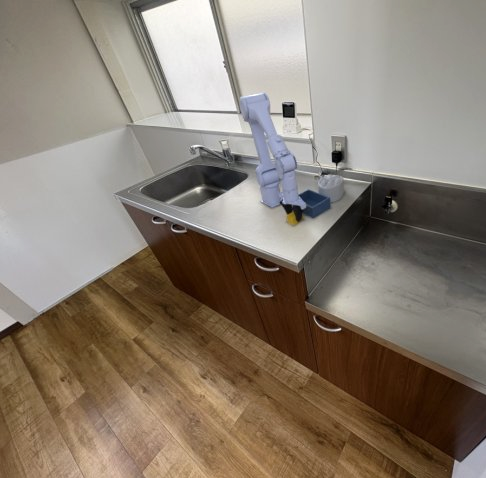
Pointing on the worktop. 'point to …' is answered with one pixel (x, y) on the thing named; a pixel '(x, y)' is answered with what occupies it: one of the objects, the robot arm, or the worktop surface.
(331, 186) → the lumpy-topped squat cylinder
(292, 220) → the duck
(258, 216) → the worktop surface
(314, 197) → the open box
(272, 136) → the robot arm
